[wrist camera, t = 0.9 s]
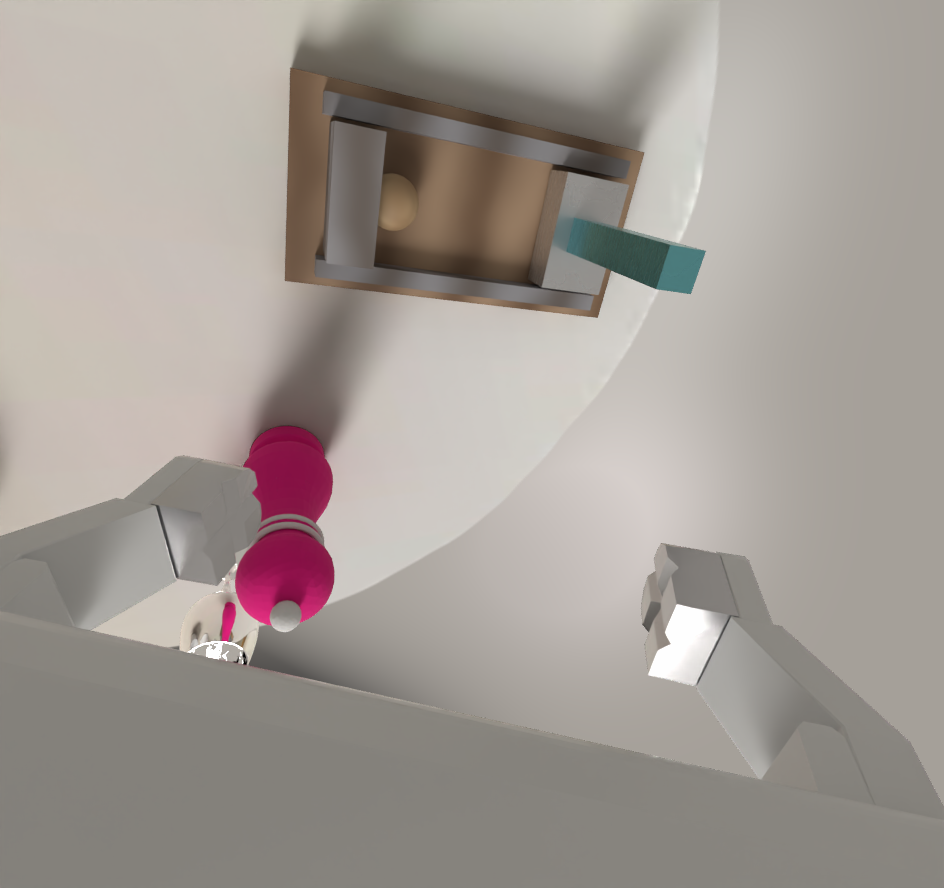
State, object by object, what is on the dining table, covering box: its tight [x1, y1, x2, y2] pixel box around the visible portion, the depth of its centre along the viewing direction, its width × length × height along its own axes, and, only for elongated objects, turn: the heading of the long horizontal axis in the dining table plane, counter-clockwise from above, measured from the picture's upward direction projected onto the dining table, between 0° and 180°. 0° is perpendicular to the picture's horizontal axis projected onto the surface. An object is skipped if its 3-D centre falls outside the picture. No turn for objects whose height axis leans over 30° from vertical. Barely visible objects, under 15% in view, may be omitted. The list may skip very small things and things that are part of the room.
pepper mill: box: [235, 426, 334, 632], centre depth 40 cm, size 7×7×20 cm
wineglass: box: [180, 547, 259, 665], centre depth 46 cm, size 6×6×12 cm
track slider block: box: [528, 170, 706, 295], centre depth 37 cm, size 5×8×15 cm, turn 169°
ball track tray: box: [285, 68, 644, 318], centre depth 40 cm, size 26×13×7 cm, turn 79°
